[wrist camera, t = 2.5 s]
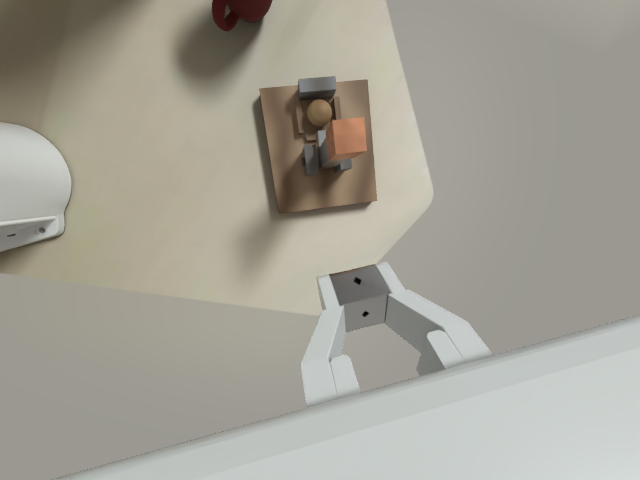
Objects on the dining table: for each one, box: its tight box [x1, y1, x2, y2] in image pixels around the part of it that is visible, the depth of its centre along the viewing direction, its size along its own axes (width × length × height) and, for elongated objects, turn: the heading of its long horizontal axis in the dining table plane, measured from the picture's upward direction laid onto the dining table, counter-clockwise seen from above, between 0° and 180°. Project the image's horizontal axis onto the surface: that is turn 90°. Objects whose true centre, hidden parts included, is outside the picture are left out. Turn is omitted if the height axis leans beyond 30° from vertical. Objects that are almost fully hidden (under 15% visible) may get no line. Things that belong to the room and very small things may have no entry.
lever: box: [315, 117, 367, 169], centre depth 28 cm, size 3×5×14 cm, turn 7°
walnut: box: [307, 99, 332, 127], centre depth 35 cm, size 4×4×4 cm
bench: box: [259, 76, 377, 214], centre depth 36 cm, size 16×18×7 cm
